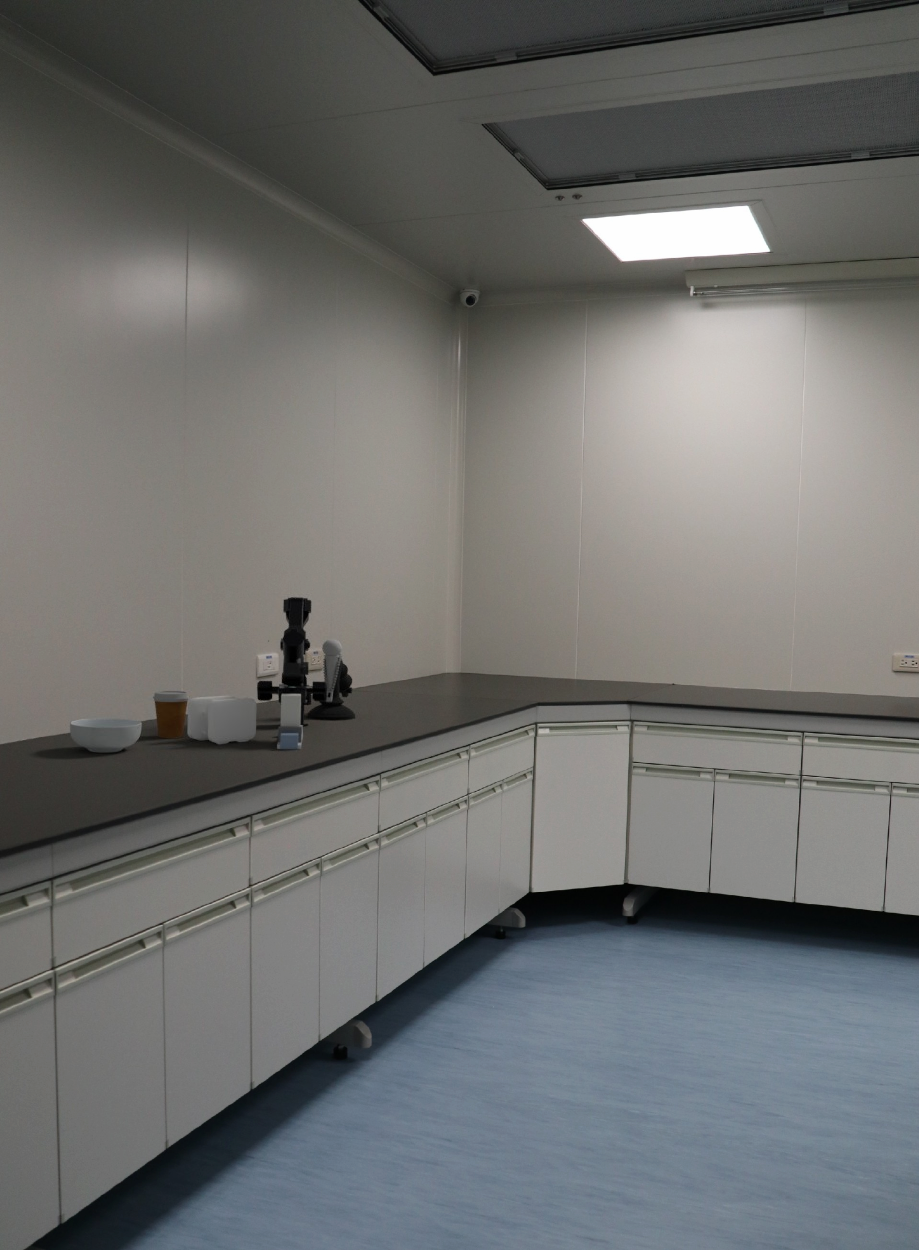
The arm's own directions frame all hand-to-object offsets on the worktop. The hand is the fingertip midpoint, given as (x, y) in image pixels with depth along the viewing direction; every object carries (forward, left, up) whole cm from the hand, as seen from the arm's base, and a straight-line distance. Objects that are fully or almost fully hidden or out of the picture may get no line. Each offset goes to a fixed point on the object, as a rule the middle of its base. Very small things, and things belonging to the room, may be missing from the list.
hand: (291, 715), depth 279 cm
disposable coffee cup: (-21, -26, -7) cm, 34 cm away
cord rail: (0, 0, -7) cm, 7 cm away
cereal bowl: (-5, -47, -7) cm, 48 cm away
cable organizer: (-9, -16, -7) cm, 20 cm away
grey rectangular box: (+2, -1, -6) cm, 6 cm away
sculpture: (-46, +35, -7) cm, 58 cm away
